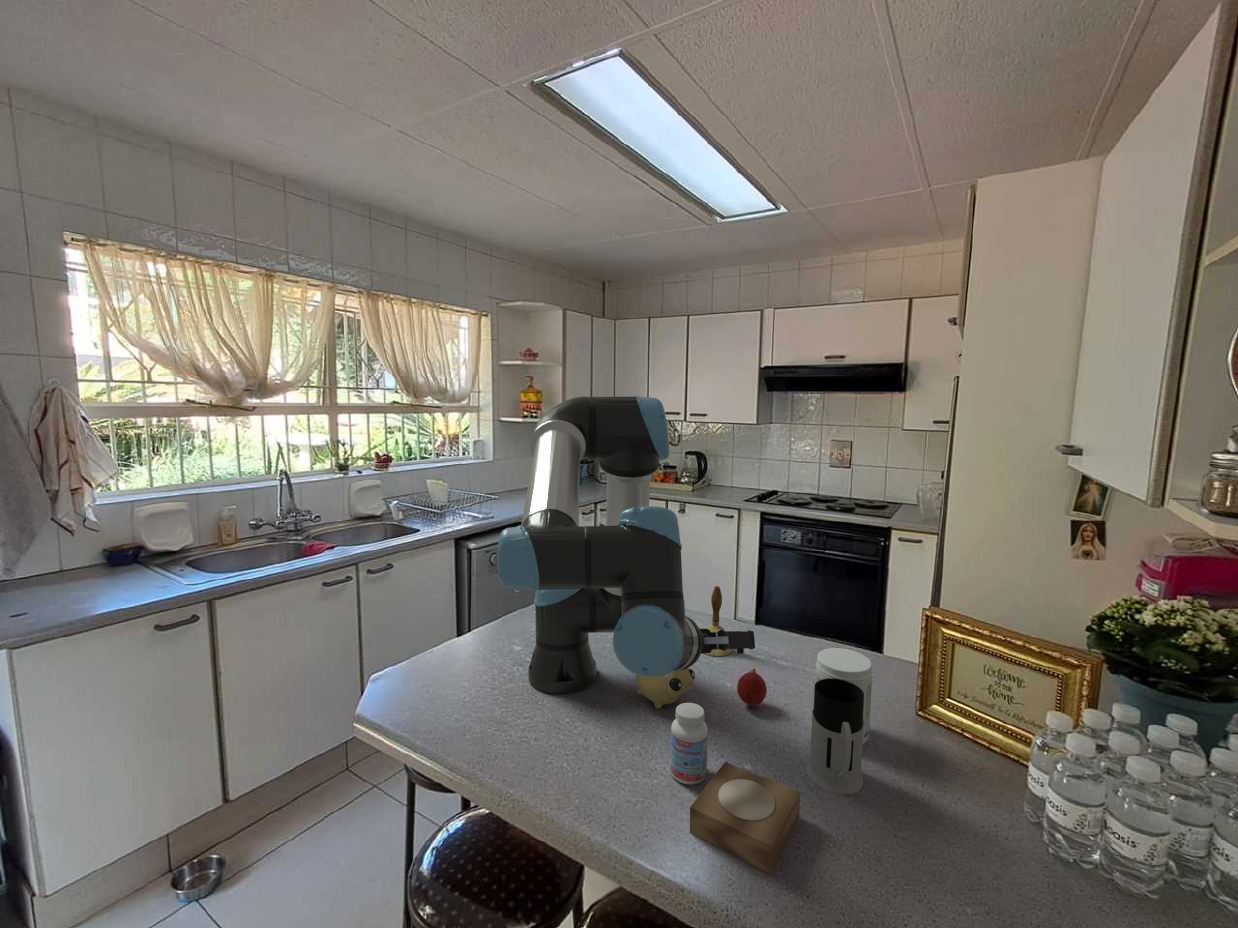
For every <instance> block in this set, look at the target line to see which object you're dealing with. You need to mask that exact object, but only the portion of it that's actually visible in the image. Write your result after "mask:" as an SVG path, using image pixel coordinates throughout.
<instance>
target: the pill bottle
mask: <svg viewBox="0 0 1238 928" xmlns="http://www.w3.org/2000/svg"><path fill="white" fill-rule="evenodd" d="M708 728H709V727H708V725H707V723H706V722H705V710H704V708H703V707H702V706H701V705H699V704H697V703H693V702H683V703H680V704H679V705H677V706H676V708H675V719H674V720H673V722H672V724H671V726H670V763H669V764H670V765H669V766H670V767H669V768H670V769H669V770H670V774H671V776H672V777H673V779H674V780H675V781H677V782H679V783H682V784H684V785H697V784H699V783H701V782H703V781H704V780H705V778H706V777H707V771H708V770H707V767H708V766H707V765H708V745H709V744H708V740H709V729H708Z"/></svg>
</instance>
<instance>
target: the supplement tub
mask: <svg viewBox="0 0 1238 928" xmlns="http://www.w3.org/2000/svg"><path fill="white" fill-rule="evenodd" d="M872 666H873V664H872V662H871V660H870V658H868V657H867V656H866V655H864V654H863V653H860V652H858V651H855V650H852V649H847V648H841V647H829V648H826V649H822V650H820V651H819V652H818V654H817V659H816V665H815V667H816V671H815V683H816V682H817V681H819V680H822V679H830V678H832V679H840V680H844V681H848V682H850V683H853V684H855V685H856V686H858V687H859V688H860V689H861V690H862V691H863V692H864V708H863V719H864V729H863V745H864V744H865V743H867V741H868V739H869V738H870V727H871V725H870V723H871V707H872V706H871V704H872V703H871V702H872V690H873V689H872V687H873V686H872V685H873V667H872Z"/></svg>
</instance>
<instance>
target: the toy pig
mask: <svg viewBox="0 0 1238 928" xmlns="http://www.w3.org/2000/svg"><path fill="white" fill-rule="evenodd" d="M635 677H636V678H635V679H636V683H637V686H638V688H637V693H638V695H639V696H642V695H643V696H644V697H645V698H646V699H648V700H650V701H651V702H653V704H654V707H655V709H657V710H659V709H661V708H662V707H663V705H669V704H672V703H675V702H676V701H678V699H680V697H682V696H683V695H684V694H686V693H687V692H688V691H691V690H692V689H693V687H694V685H695V683H696V680H695V678H696V672H695V671H694V669H692V668H690V667H689V668H687V669H684V670H680V671H674V672H672V677H670V678H666V677H665V676H647V677H646V676H641V675H637V674H635Z"/></svg>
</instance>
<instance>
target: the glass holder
mask: <svg viewBox="0 0 1238 928" xmlns="http://www.w3.org/2000/svg"><path fill="white" fill-rule="evenodd" d="M863 708H864V692H863V691H862V690H861V689H860V688H859V687H858V686H856V685H855V684H853V683H850V682H848V681H844V680H840V679H832V678H830V679H822V680H819V681H817V682H816V681H815V684H814V693H813V708H812V711H811V731H810V733H811V734H810V748H809V749H810V751H809V753H810V754H809V755H810V756H809V762H808V763H807V765H806V774H807V776H808V778H809V779H810V780H811V782H813V783H814V785H816V786H818V787H819V788H820V789H823V790H825V791H827V792H830V793H833V794H837V795H853V794H855V793H858V792H860V791H861V789H863V787H864V778H863V776H862V760H863V745H864V744H863V729H864V719H863Z"/></svg>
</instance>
